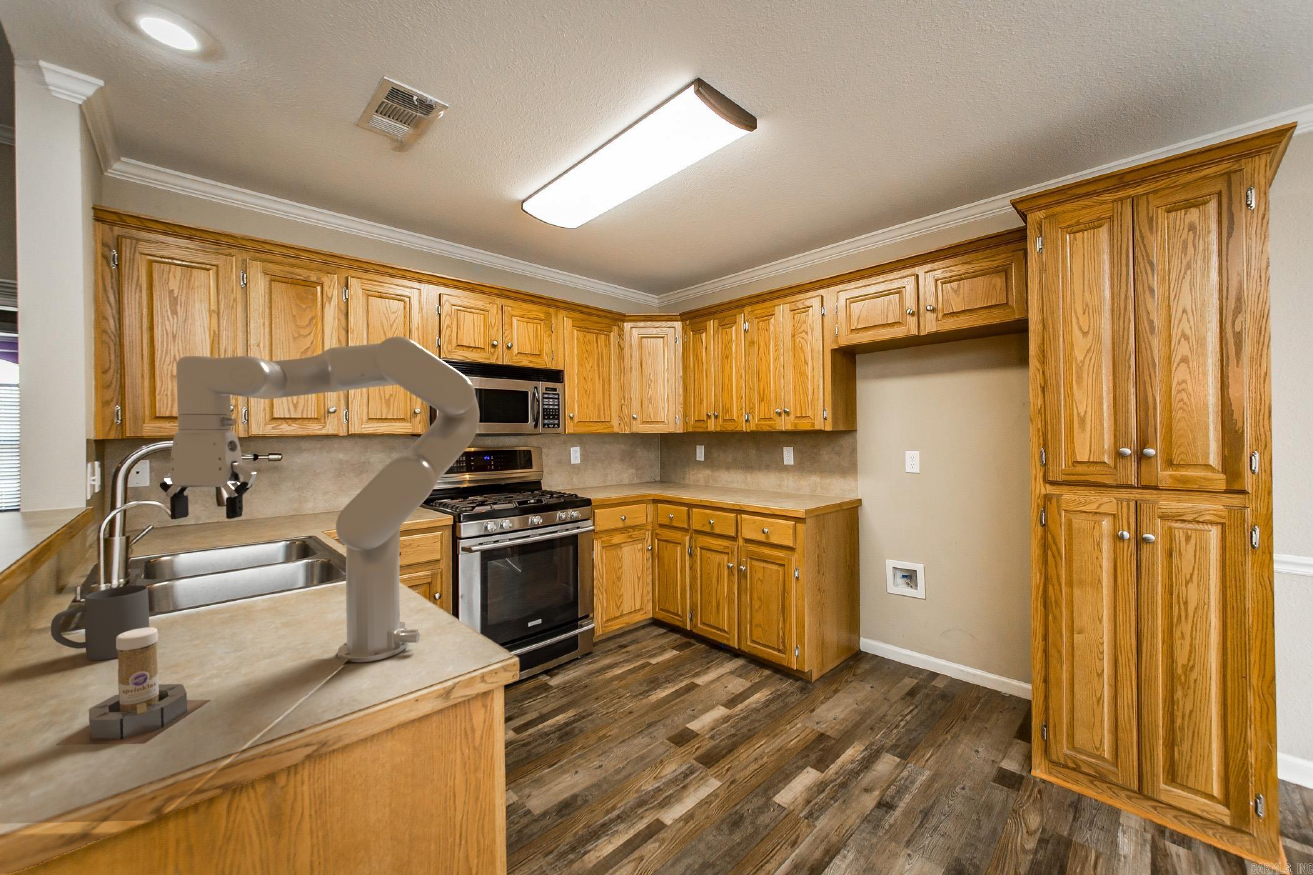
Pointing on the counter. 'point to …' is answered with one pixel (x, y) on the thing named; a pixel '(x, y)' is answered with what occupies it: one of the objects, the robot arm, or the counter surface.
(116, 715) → the ring
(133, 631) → the sprinkles bottle
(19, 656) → the counter surface
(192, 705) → the walnut board
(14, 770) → the counter surface
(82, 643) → the mug
